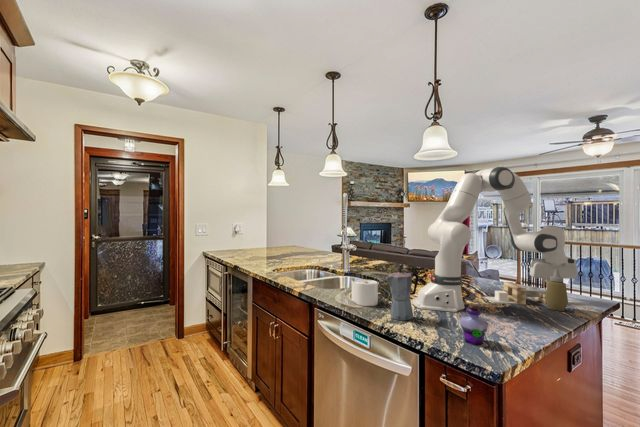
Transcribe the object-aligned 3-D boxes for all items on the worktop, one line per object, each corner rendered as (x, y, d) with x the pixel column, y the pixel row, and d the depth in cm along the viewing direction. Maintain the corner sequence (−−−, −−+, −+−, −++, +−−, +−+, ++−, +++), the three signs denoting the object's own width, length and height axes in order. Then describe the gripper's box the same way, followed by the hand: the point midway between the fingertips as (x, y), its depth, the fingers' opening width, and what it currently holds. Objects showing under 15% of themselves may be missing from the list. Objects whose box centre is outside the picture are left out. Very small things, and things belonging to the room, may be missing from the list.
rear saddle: (545, 304, 142) (545, 295, 142) (534, 299, 150) (534, 291, 150) (554, 304, 142) (554, 295, 142) (543, 299, 149) (543, 291, 150)
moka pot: (379, 315, 123) (380, 267, 123) (409, 311, 129) (409, 265, 129) (394, 323, 114) (394, 271, 115) (425, 318, 120) (425, 268, 121)
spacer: (507, 301, 144) (499, 301, 145) (503, 298, 149) (494, 298, 149) (508, 293, 144) (499, 292, 145) (503, 290, 149) (494, 290, 149)
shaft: (516, 297, 145) (516, 280, 145) (511, 294, 149) (511, 278, 149) (559, 298, 143) (559, 281, 143) (553, 295, 147) (553, 279, 147)
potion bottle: (470, 348, 93) (470, 309, 94) (453, 337, 102) (453, 302, 102) (495, 346, 95) (495, 308, 95) (476, 335, 103) (476, 300, 103)
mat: (494, 303, 143) (494, 302, 143) (484, 297, 153) (484, 296, 153) (515, 303, 142) (515, 302, 142) (504, 297, 152) (504, 297, 152)
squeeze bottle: (572, 312, 129) (572, 271, 129) (551, 311, 131) (551, 270, 131) (561, 307, 137) (561, 268, 137) (541, 306, 139) (541, 267, 139)
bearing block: (517, 304, 141) (517, 287, 141) (503, 297, 153) (503, 281, 153) (525, 304, 141) (526, 287, 141) (511, 297, 153) (511, 282, 153)
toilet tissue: (379, 306, 135) (379, 284, 135) (352, 306, 136) (353, 284, 136) (375, 300, 146) (375, 279, 146) (351, 299, 146) (351, 279, 147)
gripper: (534, 259, 143) (534, 288, 143) (580, 260, 142) (580, 289, 141) (526, 257, 150) (526, 285, 149) (570, 258, 148) (570, 286, 148)
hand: (553, 287), depth 145 cm, fingers closed on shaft, 2 cm apart
